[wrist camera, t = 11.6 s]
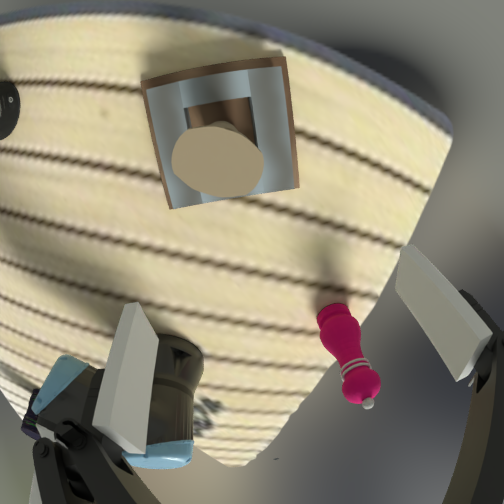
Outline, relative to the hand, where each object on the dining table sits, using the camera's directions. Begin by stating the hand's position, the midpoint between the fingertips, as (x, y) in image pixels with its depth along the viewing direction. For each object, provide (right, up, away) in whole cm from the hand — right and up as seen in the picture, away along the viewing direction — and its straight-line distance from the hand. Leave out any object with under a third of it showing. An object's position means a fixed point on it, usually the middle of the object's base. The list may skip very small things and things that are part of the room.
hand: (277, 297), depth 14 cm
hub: (-5, +17, +19) cm, 26 cm away
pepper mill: (+14, -9, +38) cm, 41 cm away
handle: (-5, +16, +18) cm, 25 cm away
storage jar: (-65, -43, +50) cm, 92 cm away
